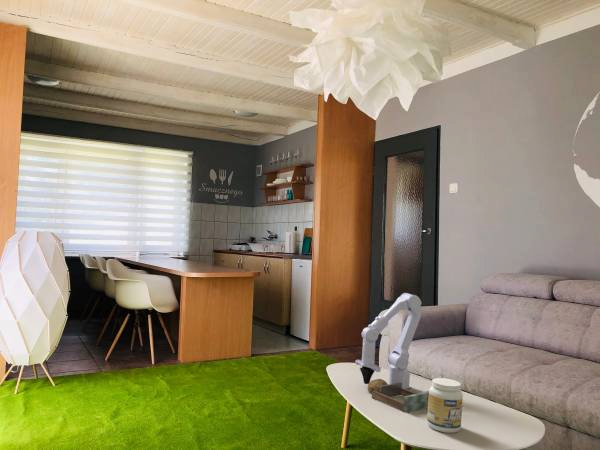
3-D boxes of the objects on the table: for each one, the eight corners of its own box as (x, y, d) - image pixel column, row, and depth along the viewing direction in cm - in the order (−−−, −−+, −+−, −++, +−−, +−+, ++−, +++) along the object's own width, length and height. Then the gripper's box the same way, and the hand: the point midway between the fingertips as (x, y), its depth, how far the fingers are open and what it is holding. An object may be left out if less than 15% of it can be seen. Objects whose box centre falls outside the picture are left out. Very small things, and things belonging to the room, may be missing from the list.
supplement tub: (446, 436, 174) (449, 388, 174) (420, 424, 183) (422, 379, 184) (467, 430, 181) (470, 384, 181) (440, 419, 191) (443, 375, 191)
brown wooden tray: (397, 392, 220) (398, 379, 220) (432, 406, 205) (432, 391, 205) (371, 398, 210) (372, 384, 211) (406, 412, 195) (407, 397, 195)
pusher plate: (399, 394, 217) (400, 382, 217) (401, 395, 216) (402, 382, 216) (379, 398, 209) (379, 386, 209) (380, 399, 208) (381, 386, 209)
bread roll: (365, 400, 218) (363, 386, 215) (372, 385, 226) (371, 371, 223) (386, 405, 213) (385, 390, 211) (393, 389, 222) (392, 375, 219)
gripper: (351, 351, 228) (349, 380, 228) (373, 358, 217) (371, 389, 216) (362, 349, 233) (360, 378, 232) (384, 357, 221) (382, 387, 221)
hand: (366, 383), depth 225 cm, fingers closed
